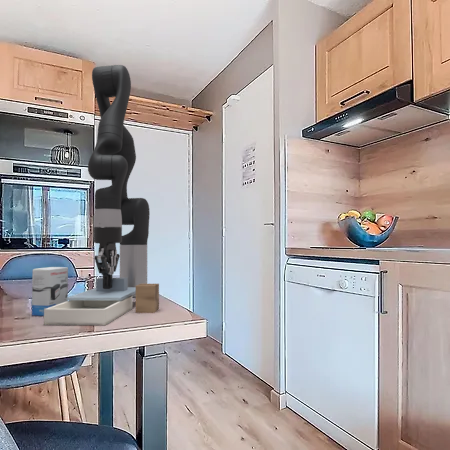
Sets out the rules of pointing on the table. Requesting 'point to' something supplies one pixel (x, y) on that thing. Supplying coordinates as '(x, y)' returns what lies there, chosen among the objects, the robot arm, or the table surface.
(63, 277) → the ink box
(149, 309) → the parcel
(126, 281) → the lid
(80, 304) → the beige shallow tray
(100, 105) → the robot arm
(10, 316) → the table surface
